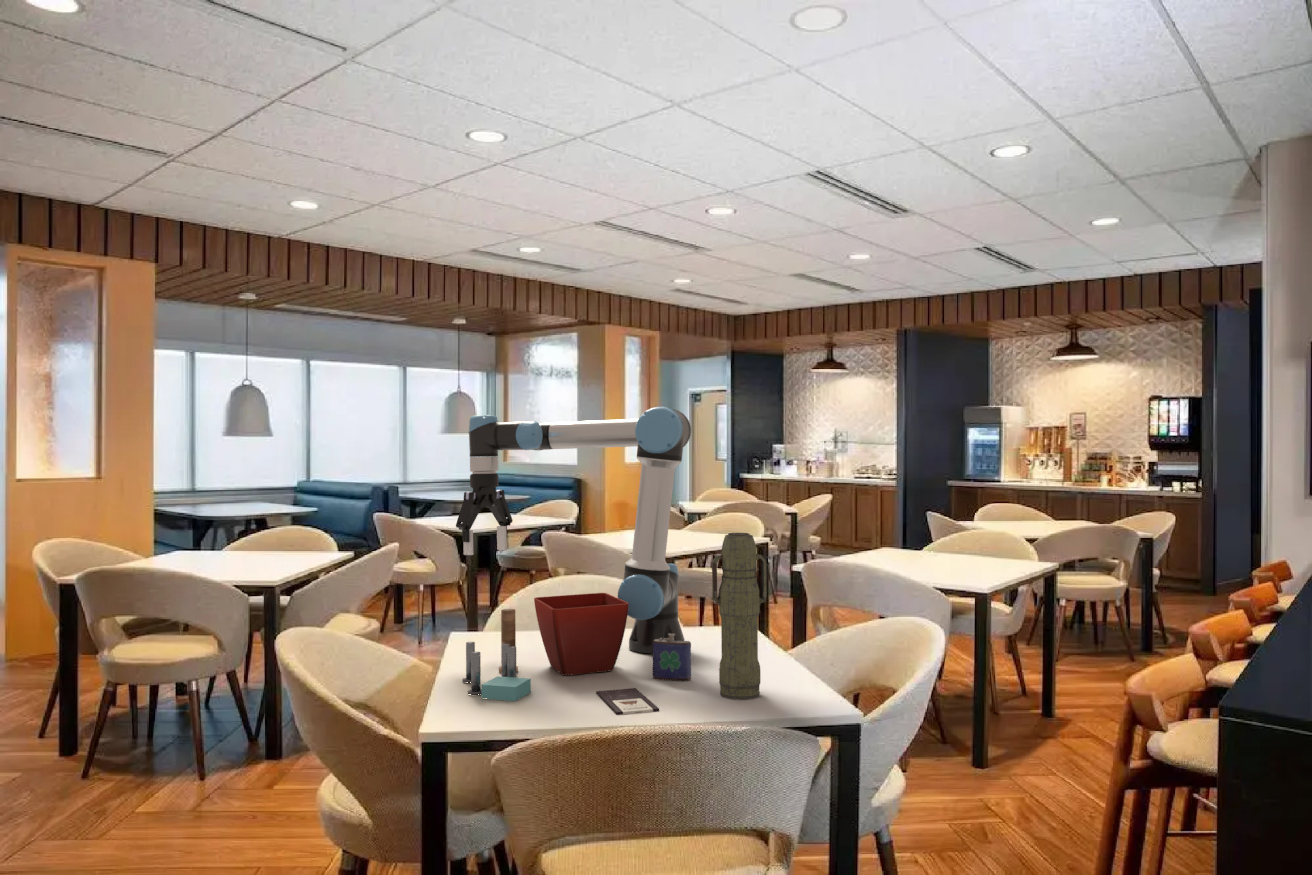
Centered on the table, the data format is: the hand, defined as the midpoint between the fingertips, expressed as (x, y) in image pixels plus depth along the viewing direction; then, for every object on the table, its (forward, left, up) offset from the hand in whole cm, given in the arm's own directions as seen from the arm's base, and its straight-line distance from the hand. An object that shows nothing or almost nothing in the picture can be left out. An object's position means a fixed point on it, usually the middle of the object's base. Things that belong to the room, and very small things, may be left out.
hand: (485, 552), depth 253 cm
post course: (-17, +36, -26) cm, 48 cm away
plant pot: (-32, +12, -27) cm, 43 cm away
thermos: (-74, +27, -27) cm, 83 cm away
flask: (-56, +17, -27) cm, 64 cm away
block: (-25, +41, -26) cm, 55 cm away
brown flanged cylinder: (-16, +20, -27) cm, 37 cm away
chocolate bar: (-52, +39, -27) cm, 71 cm away
